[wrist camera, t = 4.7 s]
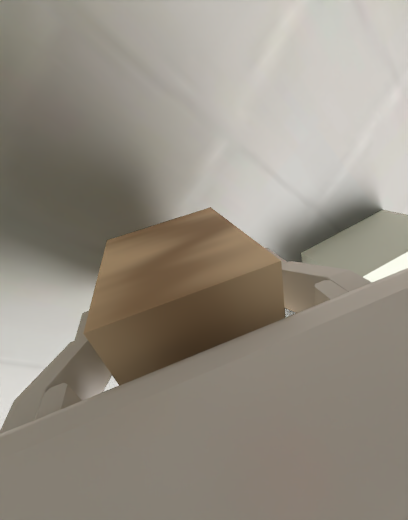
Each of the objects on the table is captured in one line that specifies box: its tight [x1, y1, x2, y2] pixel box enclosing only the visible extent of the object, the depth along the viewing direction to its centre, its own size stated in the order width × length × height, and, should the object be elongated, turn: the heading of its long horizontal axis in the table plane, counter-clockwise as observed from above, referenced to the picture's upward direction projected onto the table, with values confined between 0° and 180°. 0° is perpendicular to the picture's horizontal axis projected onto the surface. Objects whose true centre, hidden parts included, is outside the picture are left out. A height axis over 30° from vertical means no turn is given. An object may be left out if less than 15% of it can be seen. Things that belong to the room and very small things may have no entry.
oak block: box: [83, 207, 285, 385], centre depth 9 cm, size 5×5×6 cm
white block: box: [301, 210, 408, 282], centre depth 18 cm, size 8×8×5 cm
